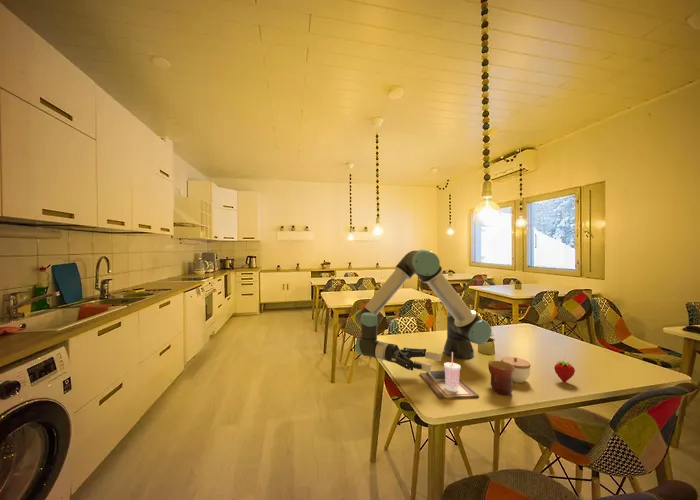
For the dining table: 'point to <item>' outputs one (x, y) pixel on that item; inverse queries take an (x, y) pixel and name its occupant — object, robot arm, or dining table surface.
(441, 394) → the stamp board
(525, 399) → the dining table surface
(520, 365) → the lidded jar
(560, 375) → the strawberry
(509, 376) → the mug
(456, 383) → the beverage cup
